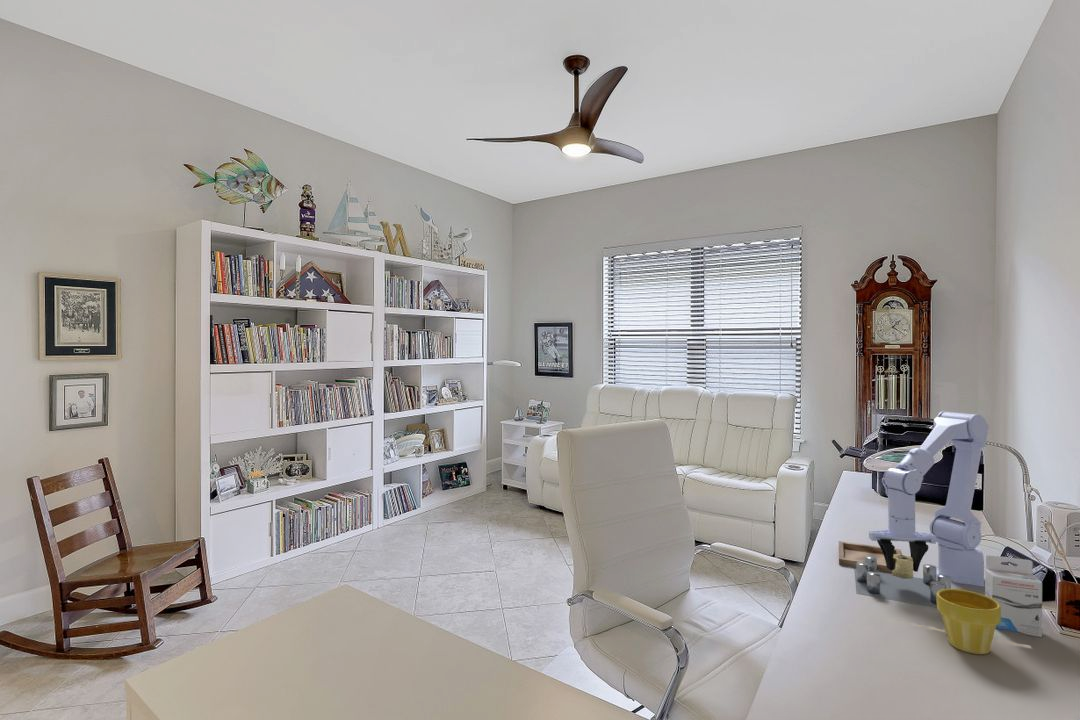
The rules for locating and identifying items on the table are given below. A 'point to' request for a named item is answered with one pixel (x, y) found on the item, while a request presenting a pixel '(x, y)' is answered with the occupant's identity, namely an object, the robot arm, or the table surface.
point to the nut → (902, 566)
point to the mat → (899, 589)
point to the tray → (862, 554)
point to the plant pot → (968, 619)
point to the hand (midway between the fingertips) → (902, 569)
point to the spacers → (872, 578)
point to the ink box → (1015, 594)
